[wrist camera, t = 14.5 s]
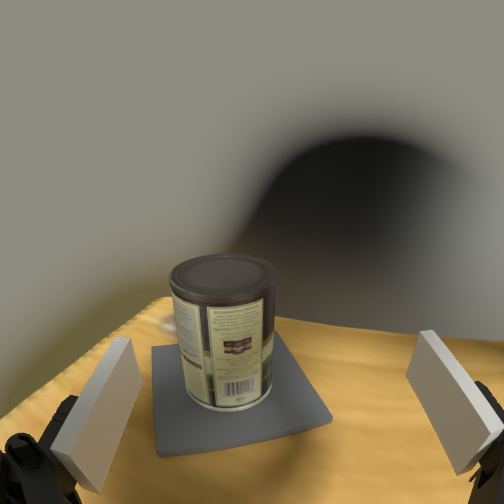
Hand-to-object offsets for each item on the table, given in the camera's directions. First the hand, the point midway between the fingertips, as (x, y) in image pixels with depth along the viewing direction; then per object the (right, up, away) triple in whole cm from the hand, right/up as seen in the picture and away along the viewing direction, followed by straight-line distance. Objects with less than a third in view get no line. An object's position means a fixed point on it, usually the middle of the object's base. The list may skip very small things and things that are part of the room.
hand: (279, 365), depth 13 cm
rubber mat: (-4, -11, +21) cm, 24 cm away
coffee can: (-4, -10, +21) cm, 24 cm away
